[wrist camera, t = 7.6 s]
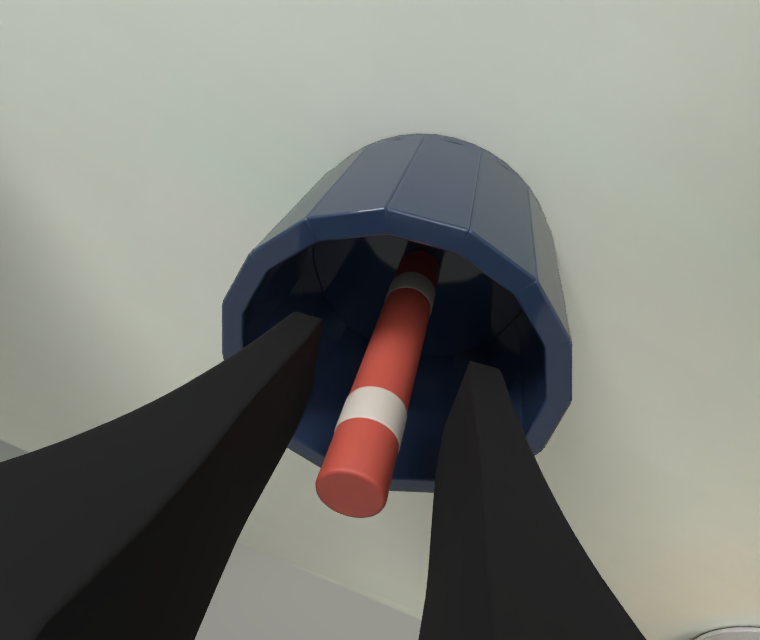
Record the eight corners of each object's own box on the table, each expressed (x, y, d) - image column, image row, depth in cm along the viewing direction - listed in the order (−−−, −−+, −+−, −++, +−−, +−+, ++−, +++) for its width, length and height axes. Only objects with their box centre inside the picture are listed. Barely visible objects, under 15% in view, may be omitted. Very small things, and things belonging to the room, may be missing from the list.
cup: (294, 324, 17) (221, 442, 13) (318, 102, 13) (220, 163, 9) (501, 383, 17) (499, 526, 12) (596, 173, 13) (646, 277, 8)
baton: (395, 280, 15) (308, 506, 8) (404, 243, 14) (317, 461, 8) (435, 290, 15) (379, 528, 8) (445, 255, 14) (394, 484, 8)
